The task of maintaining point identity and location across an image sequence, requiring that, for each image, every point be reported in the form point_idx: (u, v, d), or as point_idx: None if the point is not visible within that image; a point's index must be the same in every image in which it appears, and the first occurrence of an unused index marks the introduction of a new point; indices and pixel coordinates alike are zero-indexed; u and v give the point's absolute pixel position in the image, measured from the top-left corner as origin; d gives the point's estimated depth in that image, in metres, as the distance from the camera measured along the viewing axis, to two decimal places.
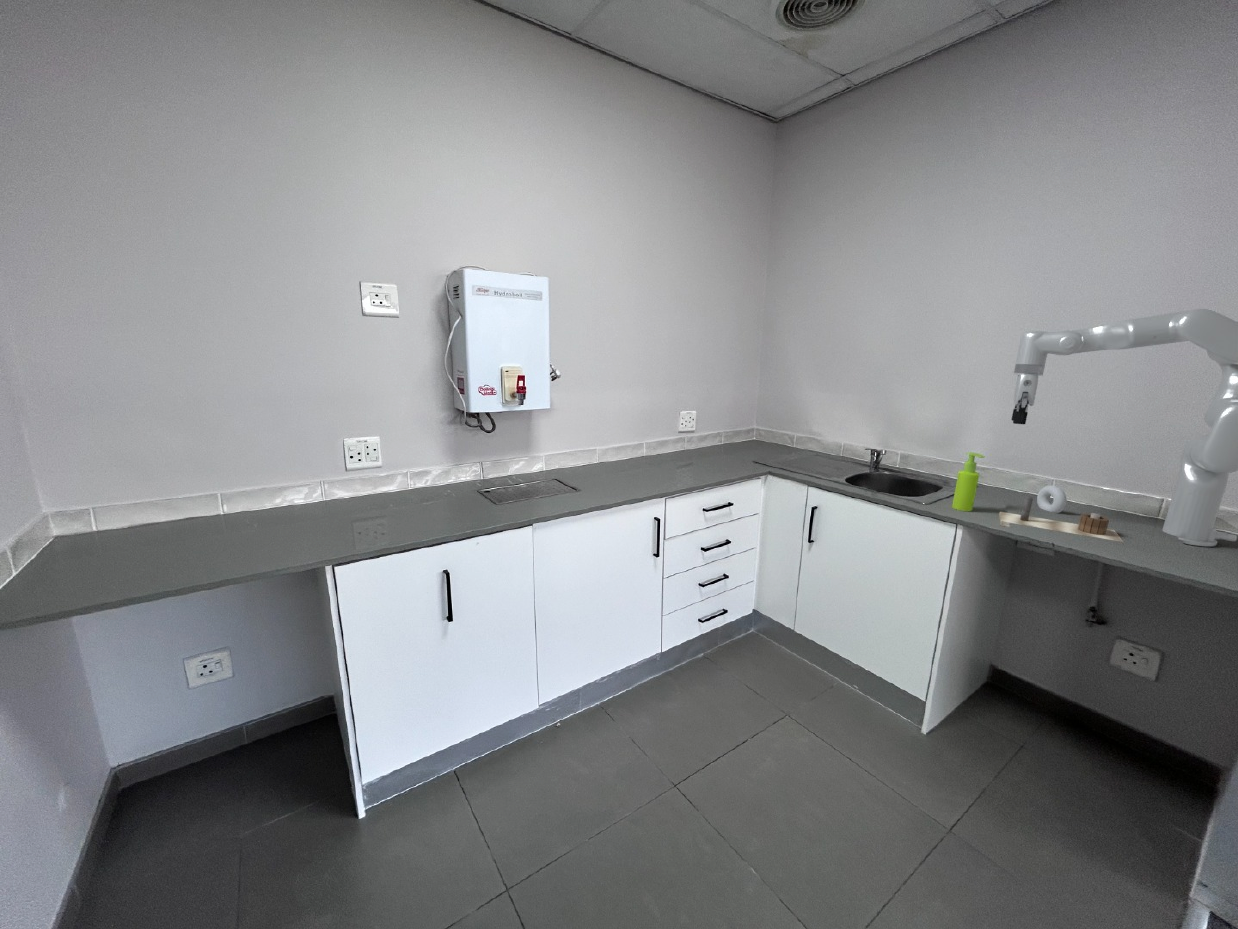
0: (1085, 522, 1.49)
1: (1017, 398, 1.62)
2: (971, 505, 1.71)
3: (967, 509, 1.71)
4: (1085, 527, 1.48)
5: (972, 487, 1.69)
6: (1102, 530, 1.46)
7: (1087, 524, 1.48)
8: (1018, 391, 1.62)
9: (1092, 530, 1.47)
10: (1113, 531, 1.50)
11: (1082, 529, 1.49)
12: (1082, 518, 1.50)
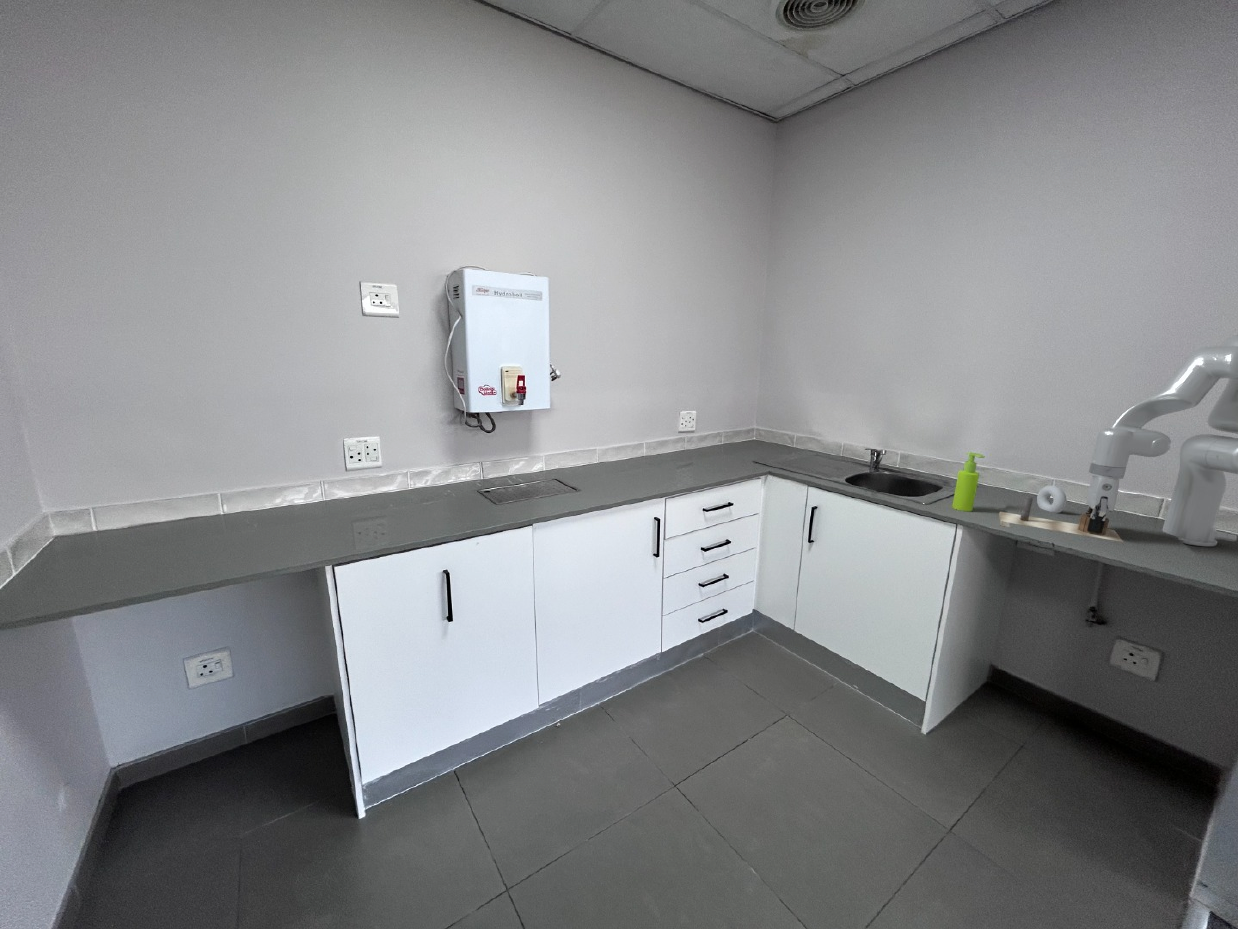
0: (1085, 522, 1.49)
1: (1094, 503, 1.45)
2: (971, 505, 1.71)
3: (967, 509, 1.71)
4: (1085, 527, 1.48)
5: (972, 487, 1.69)
6: None
7: (1087, 524, 1.48)
8: (1095, 495, 1.44)
9: None
10: (1113, 531, 1.50)
11: (1082, 529, 1.49)
12: (1082, 518, 1.50)
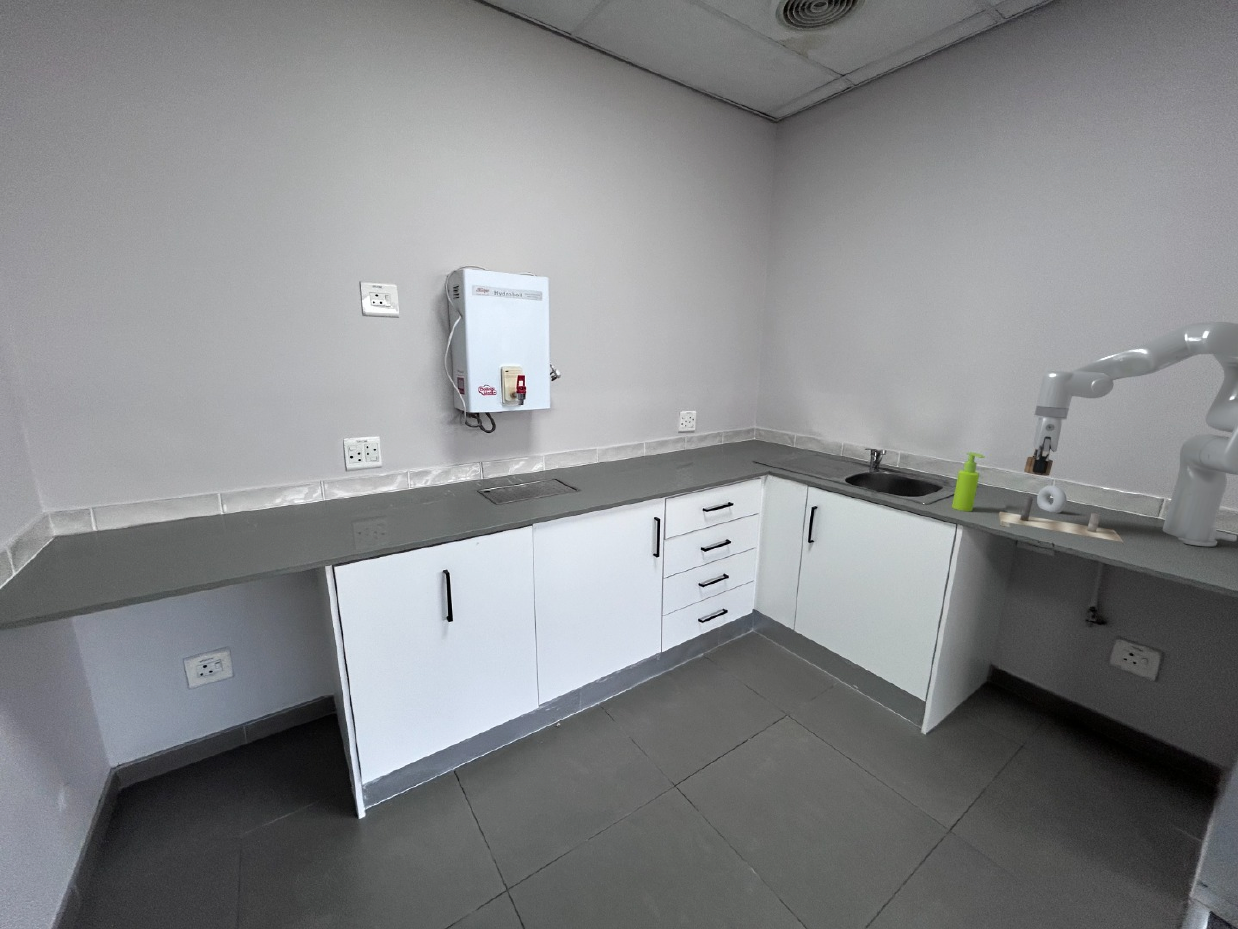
0: (1030, 463, 1.53)
1: (1038, 443, 1.49)
2: (971, 505, 1.71)
3: (967, 509, 1.71)
4: (1031, 469, 1.53)
5: (972, 487, 1.69)
6: (1046, 471, 1.51)
7: (1032, 465, 1.53)
8: (1040, 436, 1.49)
9: None
10: (1113, 531, 1.50)
11: (1027, 470, 1.54)
12: (1028, 460, 1.54)
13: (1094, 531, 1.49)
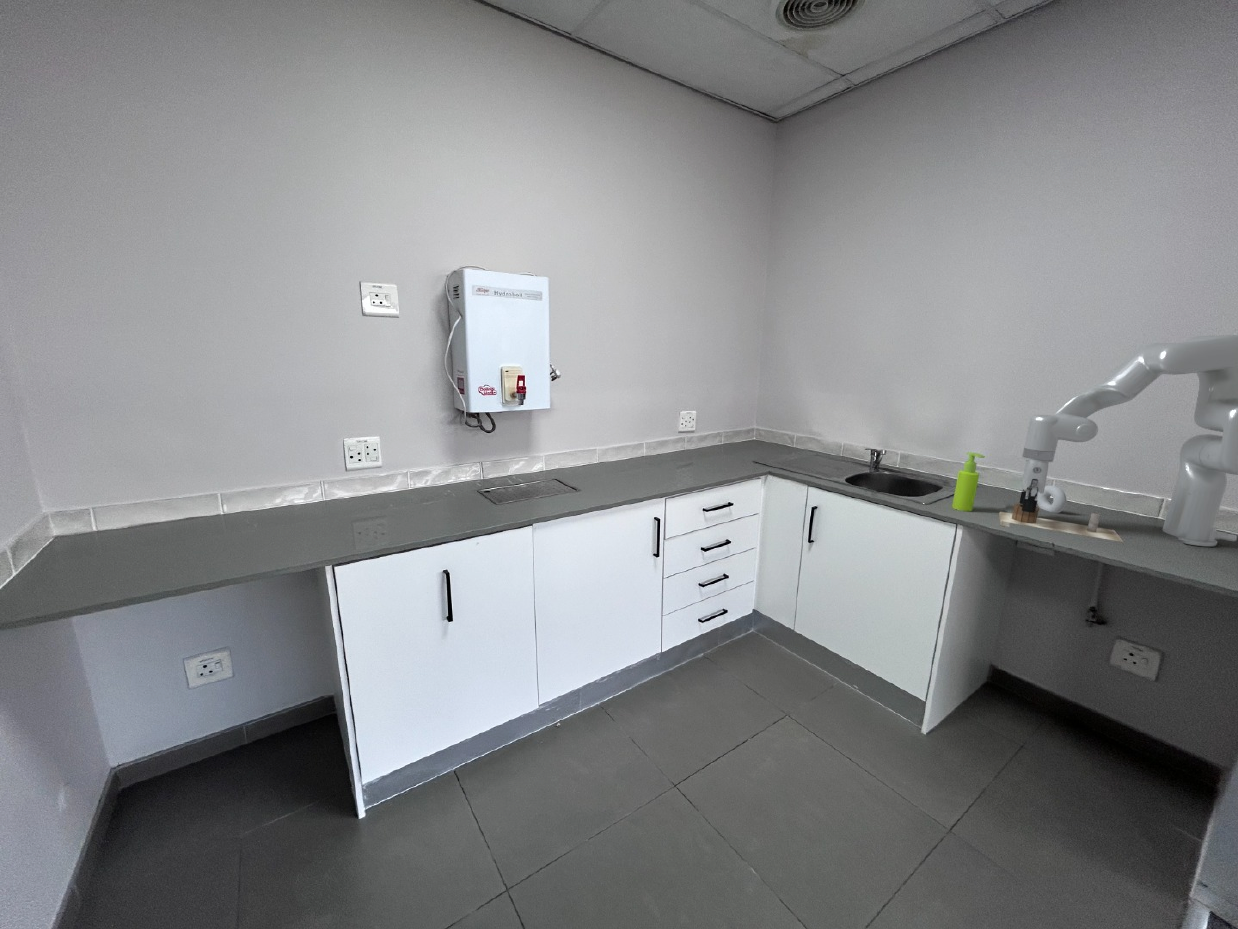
0: (1017, 511, 1.58)
1: (1026, 485, 1.53)
2: (971, 505, 1.71)
3: (967, 509, 1.71)
4: (1017, 516, 1.57)
5: (972, 487, 1.69)
6: (1032, 519, 1.55)
7: (1019, 513, 1.57)
8: (1027, 478, 1.53)
9: (1023, 519, 1.56)
10: (1113, 531, 1.50)
11: (1014, 518, 1.58)
12: (1015, 507, 1.59)
13: (1094, 531, 1.49)
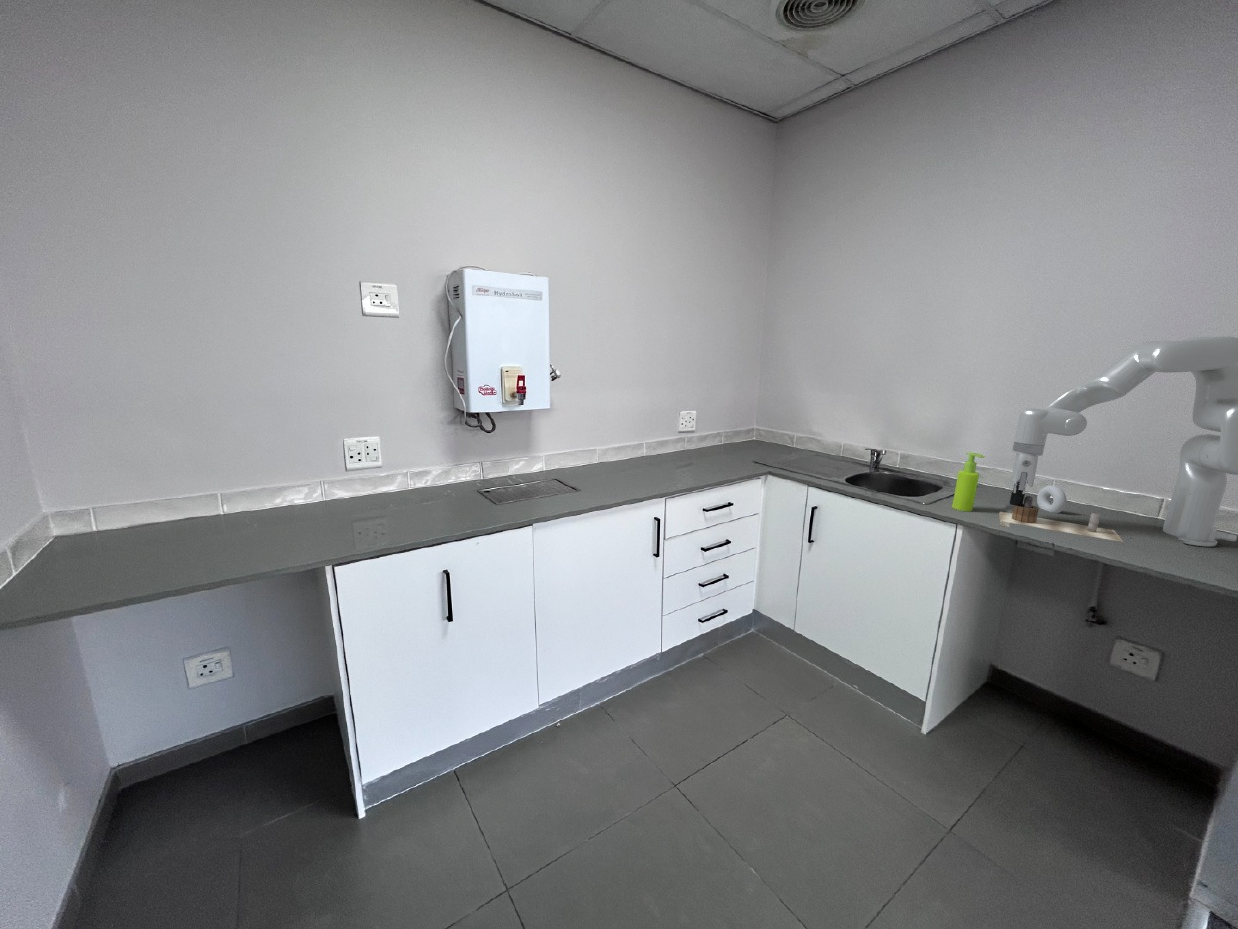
0: (1017, 511, 1.58)
1: (1016, 478, 1.54)
2: (971, 505, 1.71)
3: (967, 509, 1.71)
4: (1017, 516, 1.57)
5: (972, 487, 1.69)
6: (1032, 518, 1.55)
7: (1018, 513, 1.57)
8: (1017, 471, 1.54)
9: (1023, 518, 1.56)
10: (1113, 531, 1.50)
11: (1014, 518, 1.58)
12: (1014, 507, 1.59)
13: (1094, 531, 1.49)
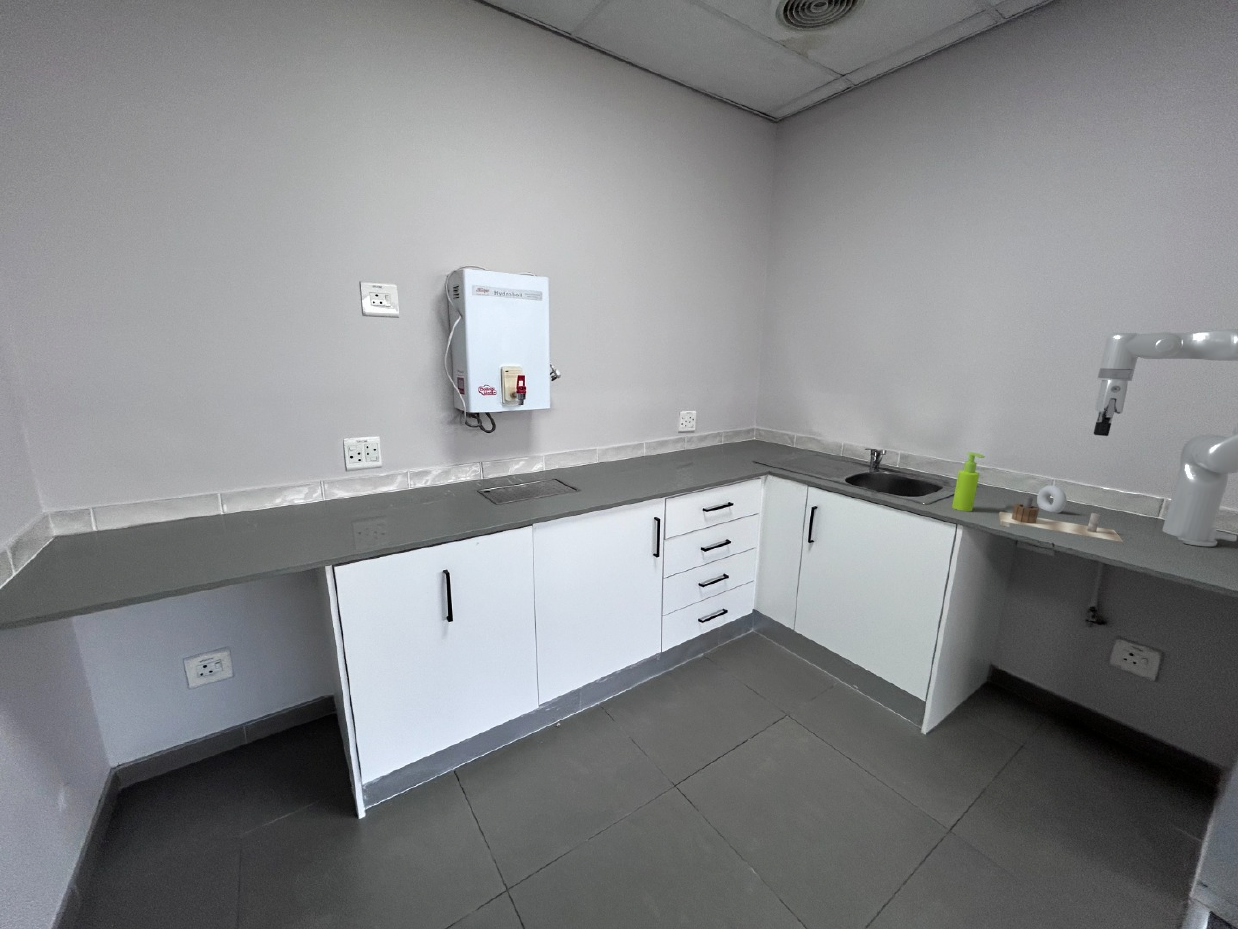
0: (1017, 511, 1.58)
1: (1103, 405, 1.49)
2: (971, 505, 1.71)
3: (967, 509, 1.71)
4: (1017, 516, 1.57)
5: (972, 487, 1.69)
6: (1032, 519, 1.55)
7: (1019, 513, 1.57)
8: (1105, 398, 1.49)
9: (1023, 519, 1.56)
10: (1113, 531, 1.50)
11: (1014, 518, 1.58)
12: (1015, 507, 1.59)
13: (1094, 531, 1.49)
